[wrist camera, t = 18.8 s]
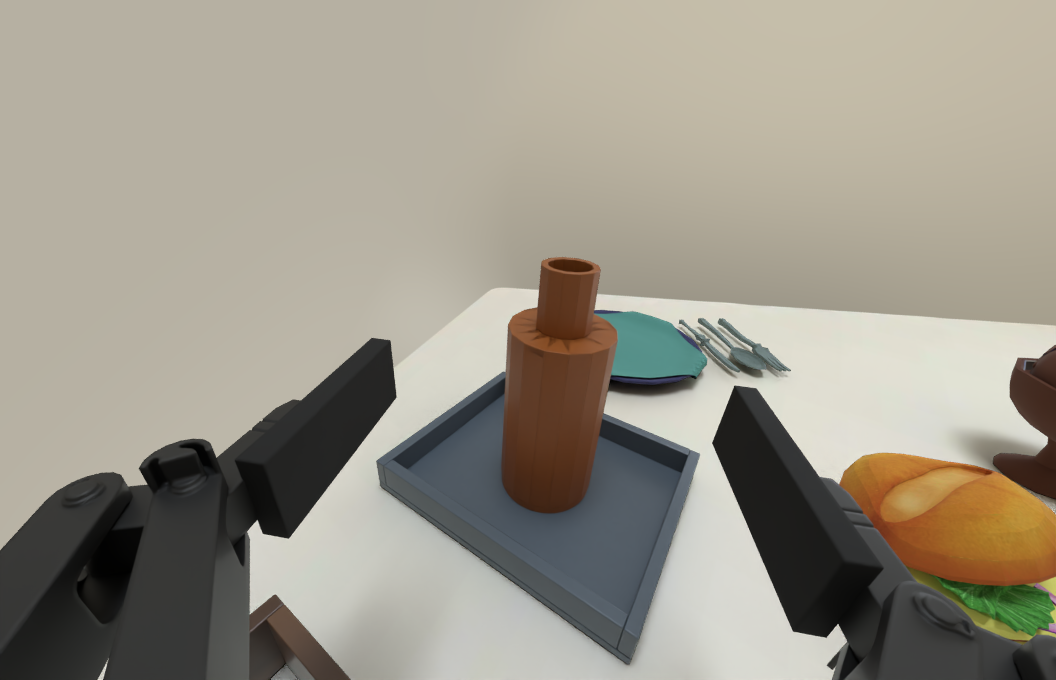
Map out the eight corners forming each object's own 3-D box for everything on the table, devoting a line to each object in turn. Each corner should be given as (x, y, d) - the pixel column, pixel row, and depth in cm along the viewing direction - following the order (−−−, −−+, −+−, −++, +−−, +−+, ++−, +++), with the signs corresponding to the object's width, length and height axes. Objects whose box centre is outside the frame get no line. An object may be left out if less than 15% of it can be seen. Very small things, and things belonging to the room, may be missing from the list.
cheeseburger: (1103, 761, 17) (1198, 606, 14) (815, 621, 24) (835, 497, 21) (1040, 589, 24) (1094, 460, 21) (830, 519, 31) (847, 414, 28)
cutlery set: (535, 320, 58) (536, 306, 57) (716, 322, 62) (721, 309, 61) (561, 398, 40) (564, 380, 39) (812, 393, 44) (820, 376, 43)
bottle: (483, 483, 29) (488, 264, 21) (531, 434, 34) (549, 244, 26) (562, 531, 26) (601, 294, 18) (601, 469, 31) (645, 265, 23)
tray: (379, 486, 29) (375, 460, 27) (502, 391, 40) (503, 371, 39) (628, 665, 20) (638, 639, 18) (691, 476, 32) (700, 453, 30)
